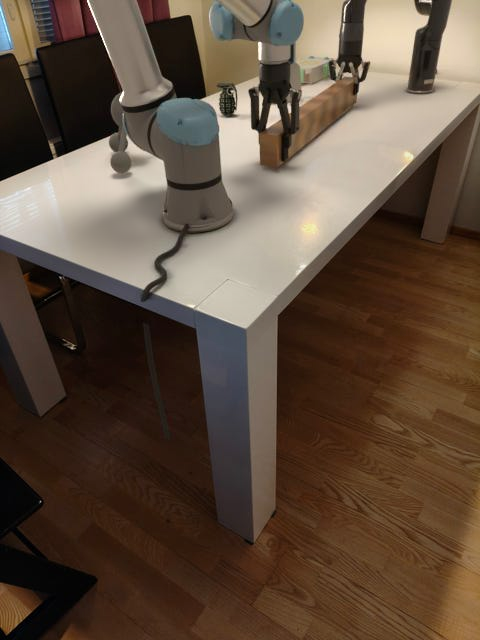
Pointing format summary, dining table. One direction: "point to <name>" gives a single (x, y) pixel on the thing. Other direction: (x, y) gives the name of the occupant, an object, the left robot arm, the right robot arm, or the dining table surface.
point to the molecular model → (119, 139)
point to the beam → (308, 121)
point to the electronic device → (294, 71)
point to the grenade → (227, 99)
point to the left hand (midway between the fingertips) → (275, 158)
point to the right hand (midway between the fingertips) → (346, 94)
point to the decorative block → (314, 69)
